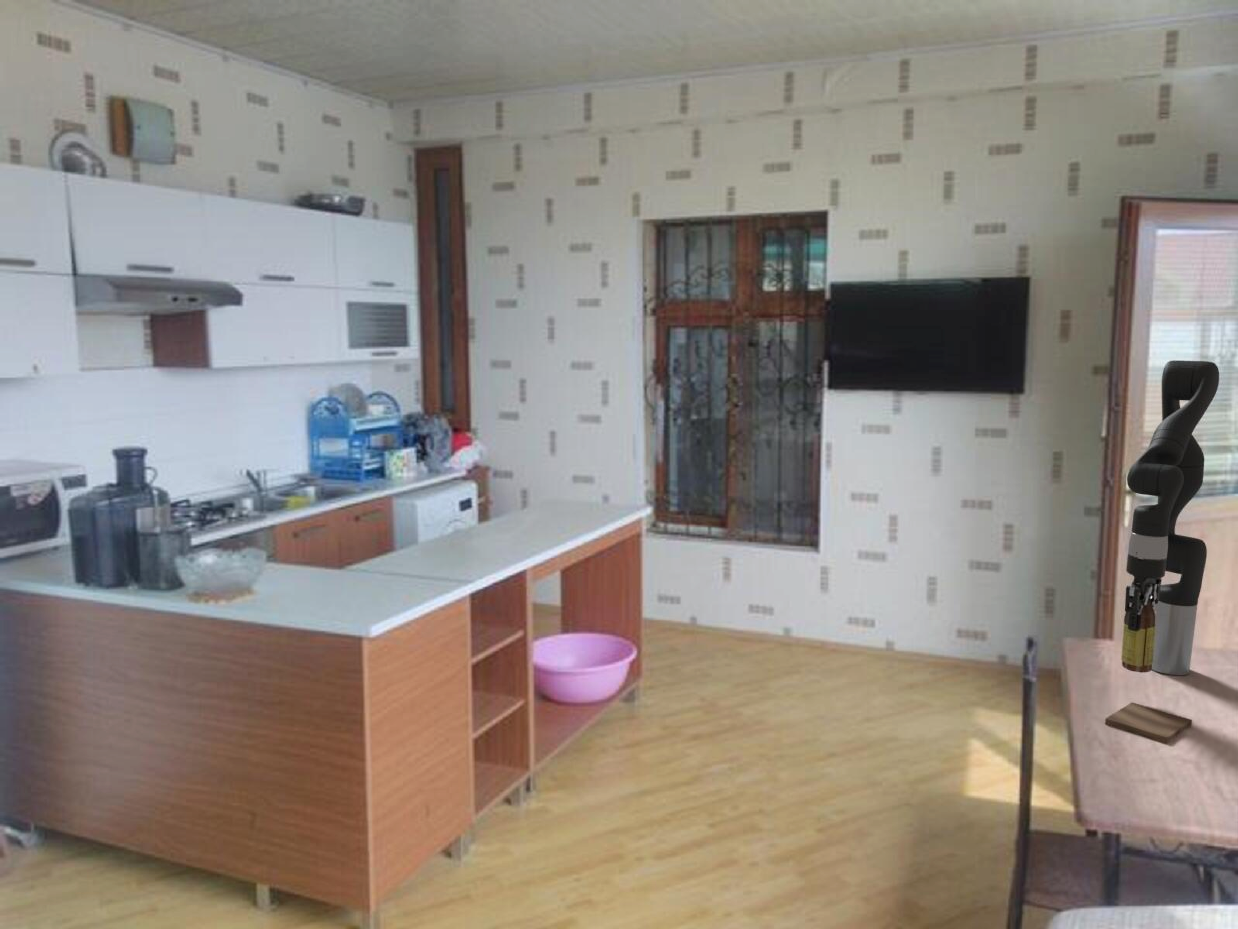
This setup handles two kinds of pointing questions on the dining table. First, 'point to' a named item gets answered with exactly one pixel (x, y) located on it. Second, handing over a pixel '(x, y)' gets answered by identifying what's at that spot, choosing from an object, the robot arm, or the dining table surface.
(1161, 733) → the walnut board
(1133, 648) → the sauce bottle
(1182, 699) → the dining table surface
